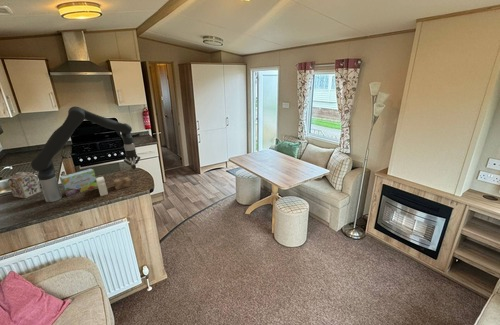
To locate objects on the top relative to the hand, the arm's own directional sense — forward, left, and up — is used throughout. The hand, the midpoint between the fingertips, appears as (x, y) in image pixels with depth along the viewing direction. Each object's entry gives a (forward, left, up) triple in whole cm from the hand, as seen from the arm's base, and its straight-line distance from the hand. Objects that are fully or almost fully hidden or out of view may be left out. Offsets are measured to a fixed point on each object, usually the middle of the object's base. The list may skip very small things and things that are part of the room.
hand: (134, 168), depth 193 cm
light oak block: (-10, 0, -13) cm, 16 cm away
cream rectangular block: (-25, -1, -13) cm, 28 cm away
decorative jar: (-72, +27, -13) cm, 78 cm away
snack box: (-38, +10, -13) cm, 42 cm away
